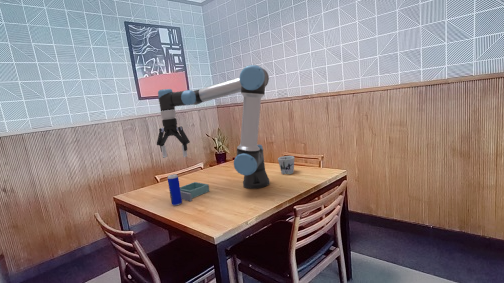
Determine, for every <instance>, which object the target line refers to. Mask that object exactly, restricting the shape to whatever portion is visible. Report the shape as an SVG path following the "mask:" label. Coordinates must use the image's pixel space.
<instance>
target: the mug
mask: <svg viewBox="0 0 504 283" xmlns="http://www.w3.org/2000/svg"><path fill="white" fill-rule="evenodd" d="M277 162H278V165H279V168H280V173H281V175H284V174H289V175H291V174H294V173H293V172H295V156H293V155H285V156H284V155H282V156H279V157H278V158H277Z"/></svg>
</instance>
